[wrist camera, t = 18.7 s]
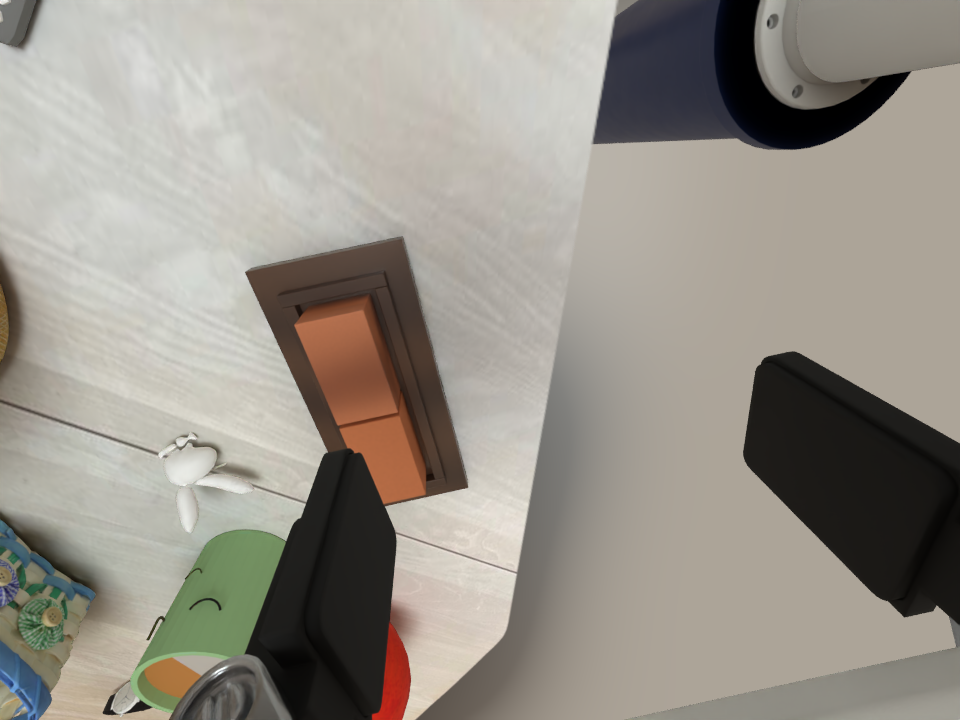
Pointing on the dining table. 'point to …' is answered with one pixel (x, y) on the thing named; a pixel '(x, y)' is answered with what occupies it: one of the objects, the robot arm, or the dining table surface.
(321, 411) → the board
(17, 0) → the key chain
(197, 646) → the mug
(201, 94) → the dining table surface
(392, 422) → the block
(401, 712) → the apple
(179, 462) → the rabbit figurine
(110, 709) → the watch
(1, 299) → the planter
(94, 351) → the dining table surface
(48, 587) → the basket
